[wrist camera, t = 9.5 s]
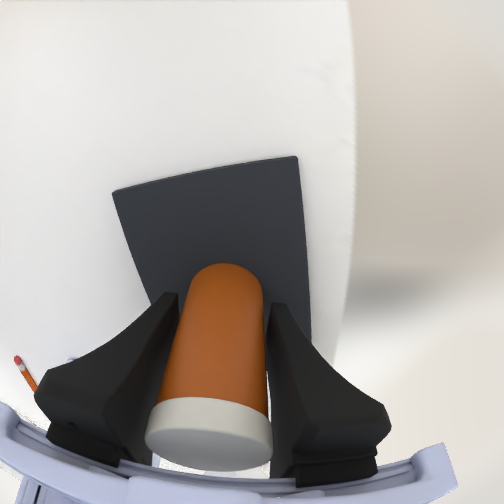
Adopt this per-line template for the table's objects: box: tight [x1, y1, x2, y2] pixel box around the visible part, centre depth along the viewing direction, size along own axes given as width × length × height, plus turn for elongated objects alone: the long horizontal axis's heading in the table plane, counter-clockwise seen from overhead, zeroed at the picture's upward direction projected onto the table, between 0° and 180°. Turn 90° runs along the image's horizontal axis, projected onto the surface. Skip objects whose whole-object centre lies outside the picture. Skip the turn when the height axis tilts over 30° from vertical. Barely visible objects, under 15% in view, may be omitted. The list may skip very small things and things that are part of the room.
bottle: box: [144, 263, 274, 472], centre depth 10 cm, size 4×4×8 cm
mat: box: [112, 156, 311, 371], centre depth 14 cm, size 12×8×1 cm, turn 9°
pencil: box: [14, 356, 38, 393], centre depth 22 cm, size 1×18×1 cm, turn 173°
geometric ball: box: [204, 467, 269, 479], centre depth 22 cm, size 8×8×8 cm
